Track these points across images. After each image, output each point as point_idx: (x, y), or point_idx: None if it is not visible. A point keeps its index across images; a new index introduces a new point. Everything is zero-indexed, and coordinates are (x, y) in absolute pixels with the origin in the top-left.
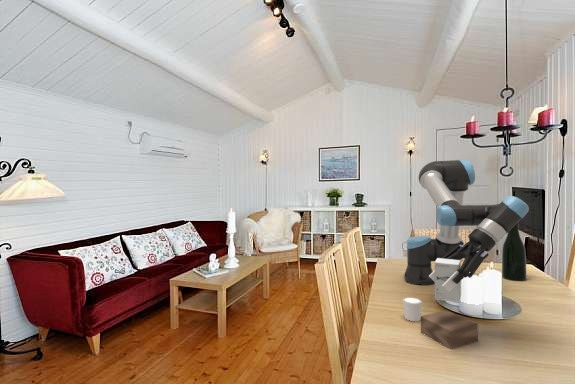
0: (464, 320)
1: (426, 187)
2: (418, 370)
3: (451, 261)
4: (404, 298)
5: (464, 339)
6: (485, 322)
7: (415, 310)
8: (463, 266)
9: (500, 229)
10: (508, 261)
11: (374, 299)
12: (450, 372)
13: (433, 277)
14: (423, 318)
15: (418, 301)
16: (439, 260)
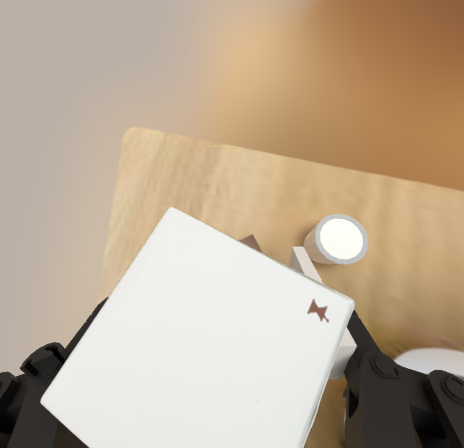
0: None
1: None
2: (133, 199)
3: (164, 386)
4: (354, 221)
5: None
6: (320, 435)
7: (310, 243)
8: (14, 437)
9: None
10: None
11: (427, 188)
12: (122, 241)
13: (293, 267)
14: (244, 238)
15: (336, 253)
16: (218, 269)
